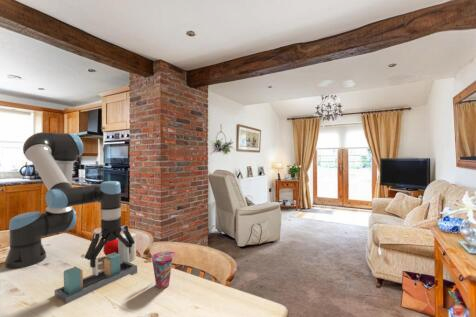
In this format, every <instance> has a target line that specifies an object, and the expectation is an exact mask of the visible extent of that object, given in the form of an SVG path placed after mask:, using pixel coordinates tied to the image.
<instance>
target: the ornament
mask: <svg viewBox="0 0 476 317" xmlns="http://www.w3.org/2000/svg"><path fill="white" fill-rule="evenodd" d="M102 250H103V254H104V255H105V256H106V255H109V254H112V253H117V254H118V238H116V239H115V240H111V241H108V242H107V243H106V244H105V245H104V247H103V248H102Z"/></svg>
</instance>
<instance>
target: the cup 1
mask: <svg viewBox="0 0 476 317" xmlns="http://www.w3.org/2000/svg"><path fill="white" fill-rule="evenodd" d="M129 233H130V234H131V236H132V238H133V240H134V242H135V243H134V244H132V247H130V253H129V263H131V262H133V261H135V260H136V259H137V234H136V233H135V232H129ZM120 234H121V235H122V237H123V238H125V239H126V240H127V238H126V236H125V234H124V233H120ZM117 239H118V238H117ZM127 241H128V240H127ZM128 242H129V241H128ZM124 246H126V245H125V244H124V243H122V242H121V241H120V240H119V239H118V254H120V263H122V262H124ZM134 259H135V260H134ZM132 260H133V261H132Z"/></svg>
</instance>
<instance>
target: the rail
mask: <svg viewBox="0 0 476 317" xmlns="http://www.w3.org/2000/svg"><path fill="white" fill-rule="evenodd" d="M137 273H138V265H136V264H133V263H131V262H125V261H124V262H120V272H119V273H117V274H115V275H112V276H110V277H108V278H107V277H106V274H104V269H103V270H100V271H98V275H97V276H96V275H94V274H93V273H92V274H90V275H88V276H85V277H83V287H81V290H79V291H77V292H74V293H72V294H70V295H67V294H66V293H64V286H62V287H58V288H57V289H54V296H55V298H57V299H58V300H60V301H62V302H63V303H64V304H66V305H67V304H69V303H71V302H73V301H75V300H77V299H79V298H82V297H83V296H86V295H89V294H90V293H92V292H94V291H96V290H99V289H101V288H103V287H104V286H105V287H106V286H107V285H110V284H112V283H113V282H116V281H118V280H121V279H123V278H124V277H127V276H128V275H131V276H133V275H135V274H137Z"/></svg>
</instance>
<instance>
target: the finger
mask: <svg viewBox="0 0 476 317" xmlns="http://www.w3.org/2000/svg"><path fill="white" fill-rule="evenodd" d="M103 260H104V261H103V262H104V267H103V268H104V269H103V270H104V274H106V277H107V278H108V277H110V276H112V275H115V274H117V273H119V272H120V263H121V262H120V254H117V253H112V254H109V255H105V258H104V259H103Z"/></svg>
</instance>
